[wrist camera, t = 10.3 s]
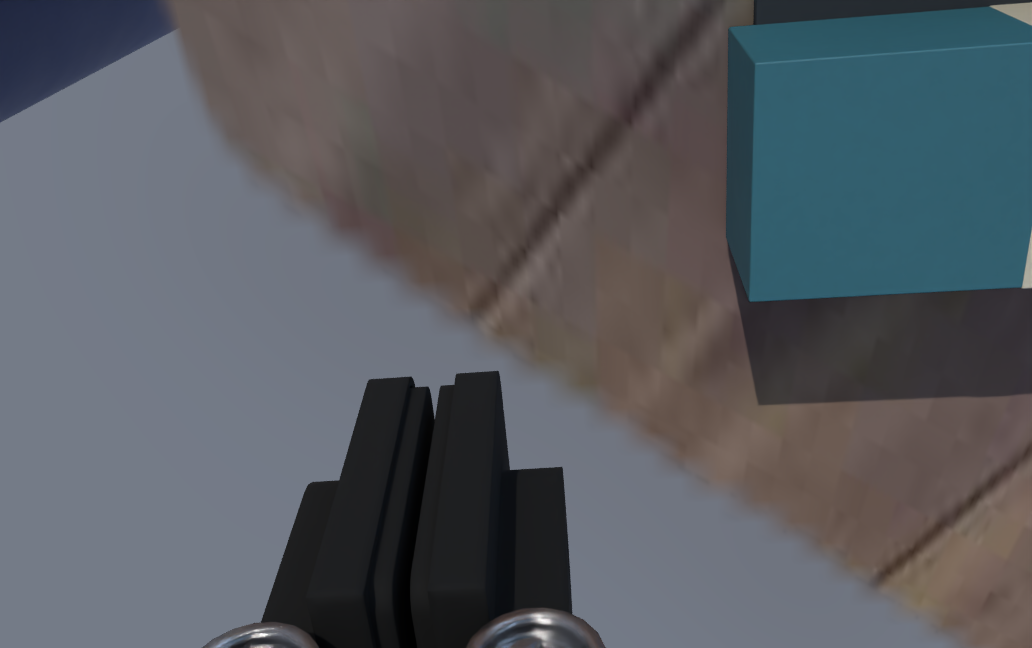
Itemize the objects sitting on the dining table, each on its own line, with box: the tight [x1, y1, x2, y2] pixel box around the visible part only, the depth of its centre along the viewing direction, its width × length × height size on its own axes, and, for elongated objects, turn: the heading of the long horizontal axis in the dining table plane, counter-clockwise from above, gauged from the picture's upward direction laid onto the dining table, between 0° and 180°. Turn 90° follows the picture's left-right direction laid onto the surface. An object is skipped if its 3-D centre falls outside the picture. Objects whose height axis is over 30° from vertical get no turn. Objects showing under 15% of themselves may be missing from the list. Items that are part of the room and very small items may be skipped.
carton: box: [726, 2, 1032, 302], centre depth 29 cm, size 5×7×12 cm
